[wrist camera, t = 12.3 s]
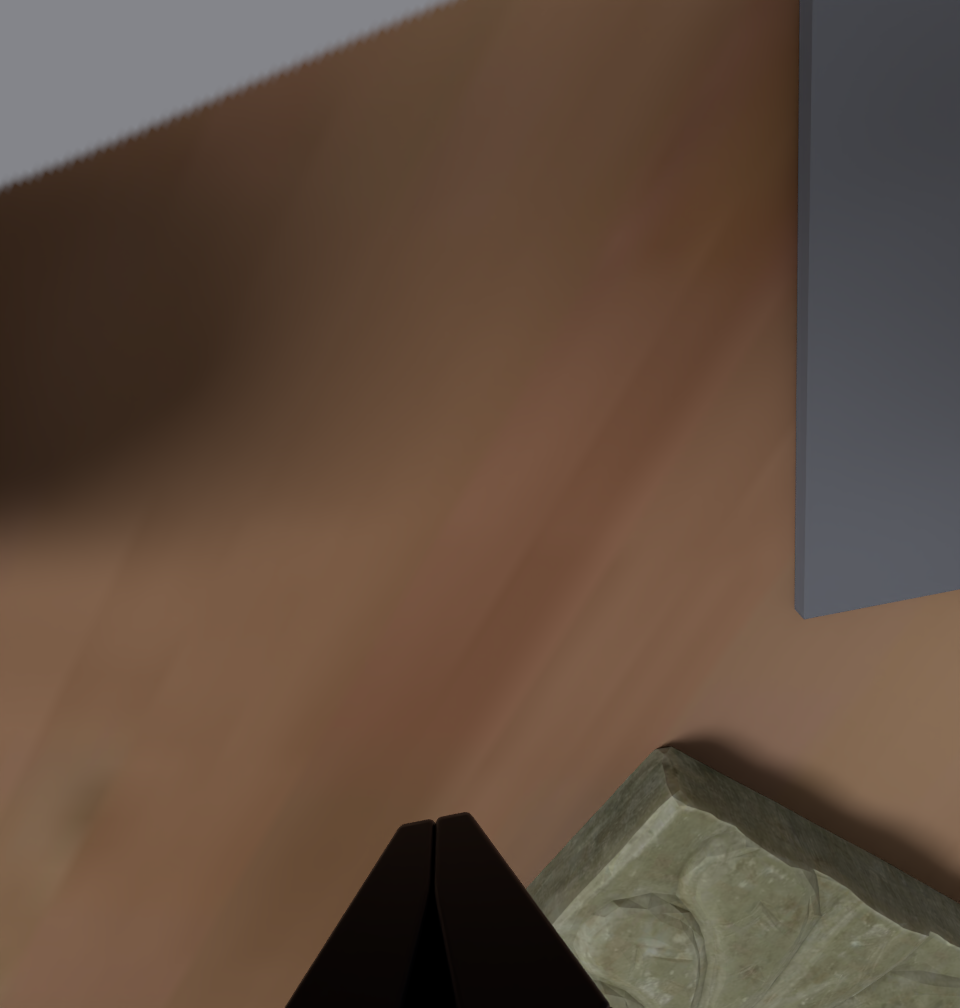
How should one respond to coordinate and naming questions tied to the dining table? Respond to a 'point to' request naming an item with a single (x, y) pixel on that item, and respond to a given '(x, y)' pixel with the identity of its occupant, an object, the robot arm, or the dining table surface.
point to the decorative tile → (741, 904)
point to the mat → (877, 303)
